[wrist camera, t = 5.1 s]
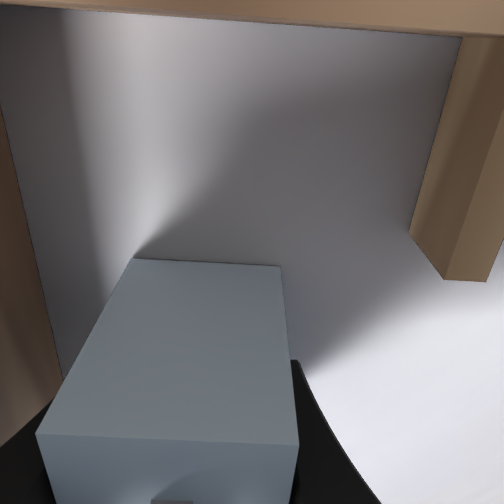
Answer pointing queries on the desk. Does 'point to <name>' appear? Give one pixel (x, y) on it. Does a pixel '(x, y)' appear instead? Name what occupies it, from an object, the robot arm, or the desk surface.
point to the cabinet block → (179, 392)
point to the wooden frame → (429, 200)
